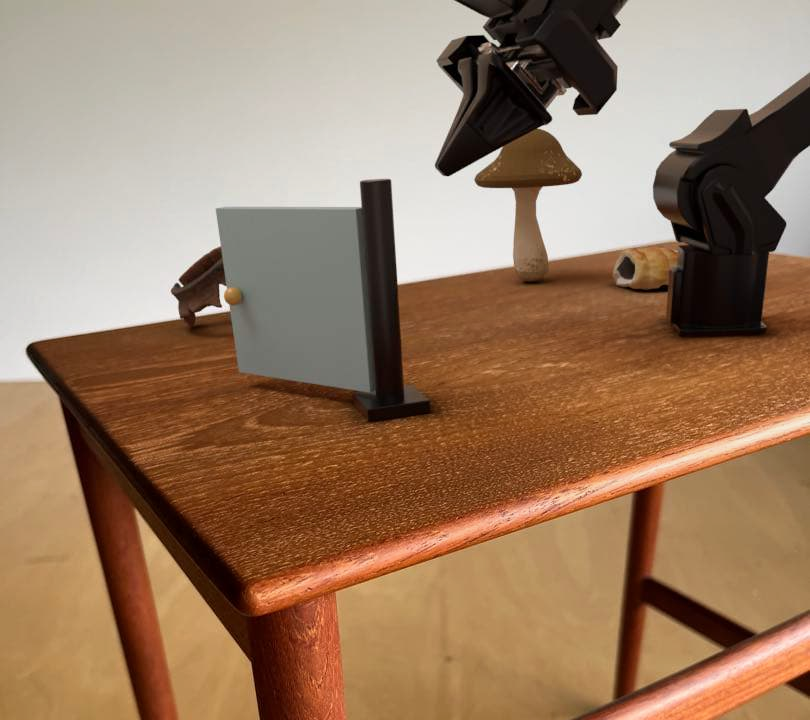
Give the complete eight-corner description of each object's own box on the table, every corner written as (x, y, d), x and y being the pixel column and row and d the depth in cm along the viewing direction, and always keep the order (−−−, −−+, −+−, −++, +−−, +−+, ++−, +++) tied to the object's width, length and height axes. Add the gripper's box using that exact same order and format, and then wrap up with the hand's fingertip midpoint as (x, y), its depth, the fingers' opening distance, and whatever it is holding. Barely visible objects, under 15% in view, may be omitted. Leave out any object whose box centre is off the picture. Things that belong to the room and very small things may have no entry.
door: (379, 389, 56) (366, 207, 52) (358, 398, 55) (342, 211, 50) (248, 369, 63) (226, 206, 58) (226, 376, 62) (201, 210, 57)
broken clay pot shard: (289, 338, 79) (231, 260, 74) (208, 383, 82) (148, 312, 78) (307, 280, 88) (257, 209, 83) (233, 324, 91) (181, 257, 87)
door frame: (430, 412, 55) (419, 178, 49) (368, 421, 54) (349, 184, 48) (411, 396, 58) (399, 176, 52) (353, 404, 57) (333, 181, 51)
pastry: (688, 275, 92) (692, 237, 91) (725, 285, 87) (729, 244, 85) (606, 284, 91) (608, 245, 89) (638, 295, 85) (640, 254, 83)
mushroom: (500, 272, 101) (498, 129, 95) (594, 276, 95) (598, 123, 89) (459, 286, 94) (454, 133, 88) (558, 291, 89) (560, 127, 82)
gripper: (458, -87, 64) (324, 92, 66) (576, -165, 48) (394, 76, 50) (555, 33, 69) (429, 195, 71) (692, 0, 53) (523, 211, 55)
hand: (440, 171), depth 62 cm, fingers closed
